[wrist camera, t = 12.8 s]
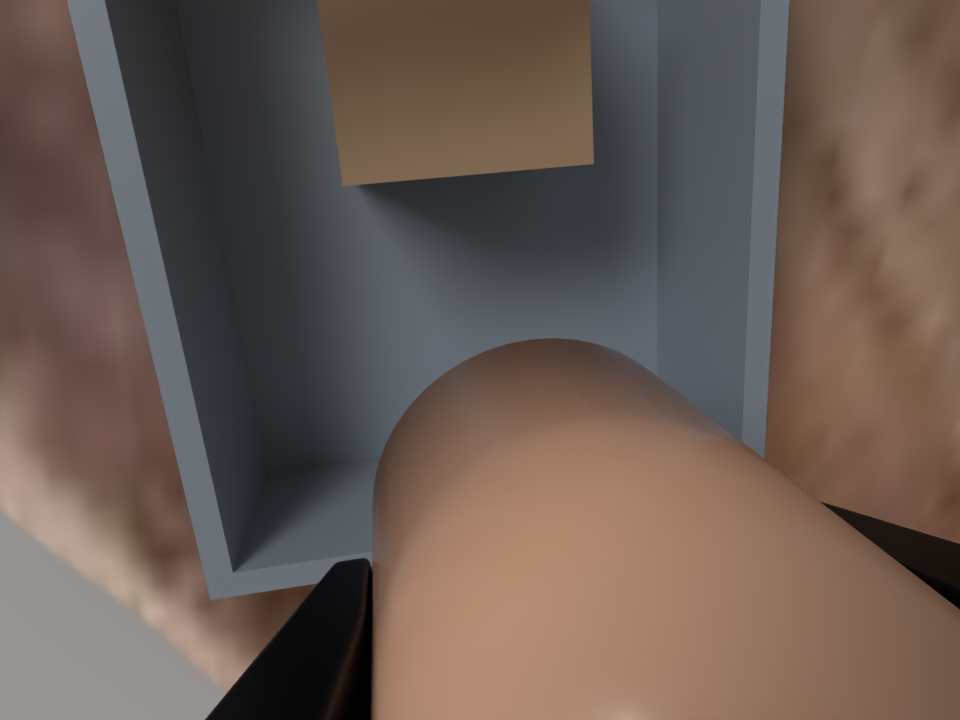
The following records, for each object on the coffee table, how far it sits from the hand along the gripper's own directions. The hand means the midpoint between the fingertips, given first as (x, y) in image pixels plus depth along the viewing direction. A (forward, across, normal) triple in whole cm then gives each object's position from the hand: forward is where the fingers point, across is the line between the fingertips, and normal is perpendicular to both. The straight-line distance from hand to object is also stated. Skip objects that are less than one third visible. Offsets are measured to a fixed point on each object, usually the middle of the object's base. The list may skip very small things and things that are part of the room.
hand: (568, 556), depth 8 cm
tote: (+12, 0, -5) cm, 13 cm away
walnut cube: (+11, 0, -7) cm, 13 cm away
